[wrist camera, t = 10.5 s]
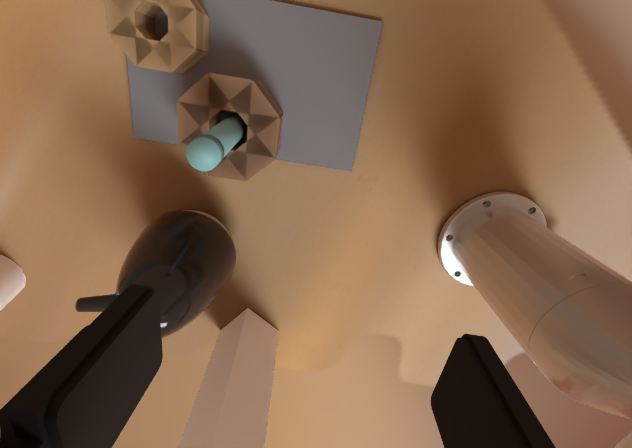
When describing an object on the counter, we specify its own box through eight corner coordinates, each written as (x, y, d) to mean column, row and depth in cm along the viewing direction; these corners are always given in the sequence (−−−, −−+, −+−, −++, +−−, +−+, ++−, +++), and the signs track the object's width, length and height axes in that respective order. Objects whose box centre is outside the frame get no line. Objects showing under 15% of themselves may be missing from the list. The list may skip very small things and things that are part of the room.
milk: (247, 306, 43) (192, 507, 23) (280, 331, 44) (255, 536, 24) (219, 330, 44) (144, 537, 24) (251, 353, 46) (206, 562, 26)
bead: (286, 84, 30) (283, 85, 27) (277, 173, 34) (273, 184, 30) (192, 68, 30) (175, 66, 26) (193, 161, 33) (178, 171, 30)
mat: (382, 22, 29) (383, 21, 28) (351, 169, 35) (351, 171, 34) (122, -27, 27) (119, -29, 26) (136, 137, 33) (133, 138, 32)
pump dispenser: (158, 187, 35) (60, 258, 21) (249, 210, 36) (212, 291, 23) (152, 262, 39) (67, 362, 26) (235, 280, 41) (196, 384, 27)
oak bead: (209, -12, 27) (195, -24, 24) (208, 76, 30) (196, 76, 27) (125, -28, 26) (100, -42, 23) (132, 63, 29) (111, 62, 26)
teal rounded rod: (250, 114, 31) (219, 141, 21) (248, 137, 32) (219, 174, 22) (227, 110, 31) (184, 135, 21) (226, 133, 32) (185, 169, 22)
